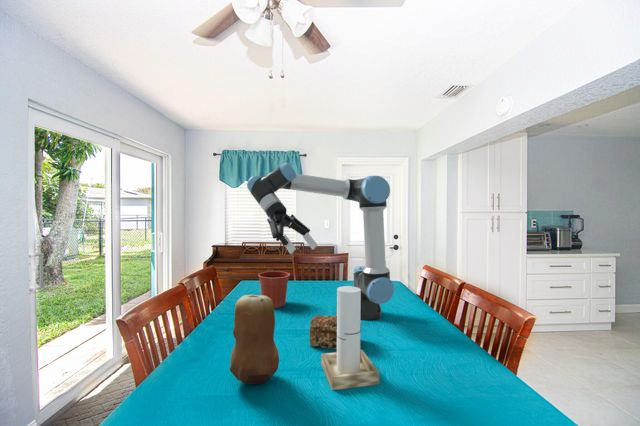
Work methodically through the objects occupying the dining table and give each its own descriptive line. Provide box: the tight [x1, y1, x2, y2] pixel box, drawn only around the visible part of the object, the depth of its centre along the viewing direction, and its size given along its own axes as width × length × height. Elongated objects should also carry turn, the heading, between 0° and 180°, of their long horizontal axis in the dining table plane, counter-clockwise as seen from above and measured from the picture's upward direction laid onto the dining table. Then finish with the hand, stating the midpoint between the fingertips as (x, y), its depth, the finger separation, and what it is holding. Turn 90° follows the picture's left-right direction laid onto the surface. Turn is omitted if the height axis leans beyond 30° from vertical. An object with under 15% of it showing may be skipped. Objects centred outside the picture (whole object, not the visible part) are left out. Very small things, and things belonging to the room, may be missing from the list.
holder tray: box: [320, 349, 380, 391], centre depth 92 cm, size 14×14×4 cm
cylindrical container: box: [336, 285, 361, 375], centre depth 92 cm, size 7×7×25 cm
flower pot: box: [257, 270, 291, 309], centre depth 157 cm, size 16×16×16 cm
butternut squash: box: [229, 293, 280, 386], centre depth 88 cm, size 14×13×25 cm
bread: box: [308, 314, 362, 350], centre depth 113 cm, size 19×11×10 cm, turn 81°
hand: (304, 249), depth 109 cm, fingers open, 13 cm apart
